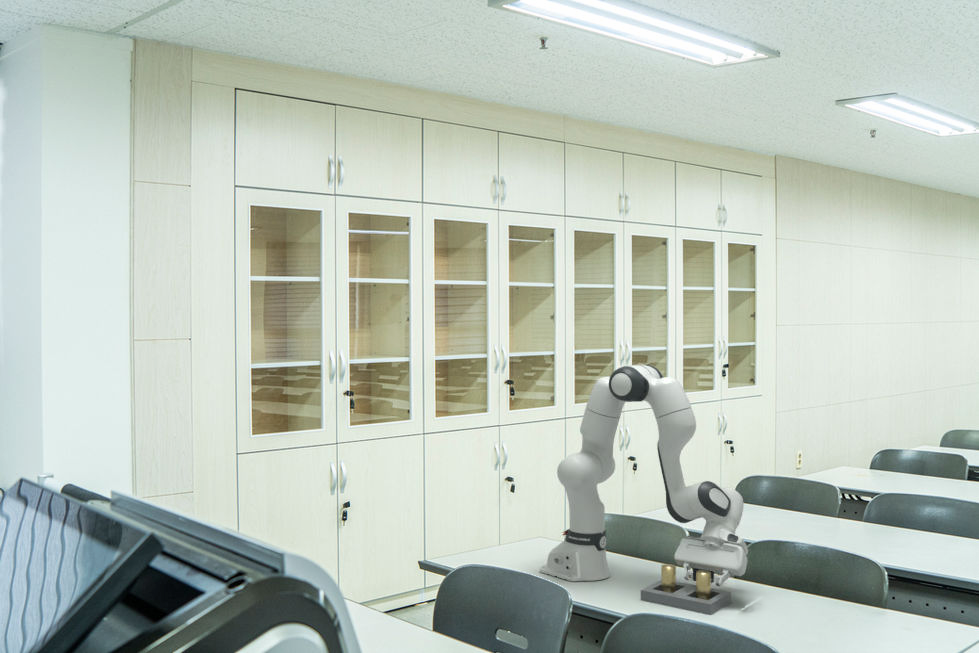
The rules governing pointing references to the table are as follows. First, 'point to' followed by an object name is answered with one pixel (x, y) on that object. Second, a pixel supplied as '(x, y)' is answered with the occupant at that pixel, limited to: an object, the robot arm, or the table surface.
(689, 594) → the tray
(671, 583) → the seated brass billet
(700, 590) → the brass billet
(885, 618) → the table surface
